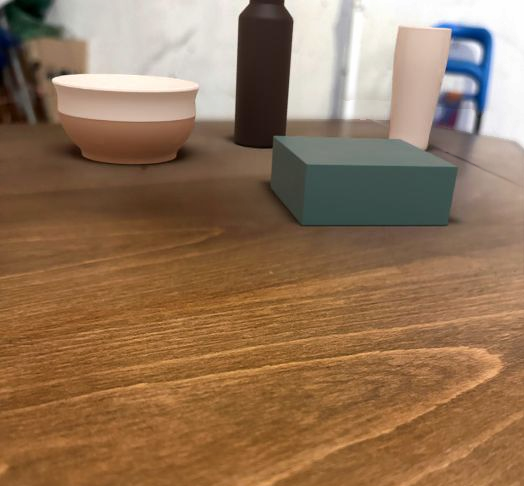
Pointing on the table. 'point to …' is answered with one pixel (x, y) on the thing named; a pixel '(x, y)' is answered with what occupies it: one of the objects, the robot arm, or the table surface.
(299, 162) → the stand
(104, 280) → the table surface
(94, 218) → the table surface
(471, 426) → the table surface
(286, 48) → the bottle
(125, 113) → the bowl
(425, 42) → the drinking glass
